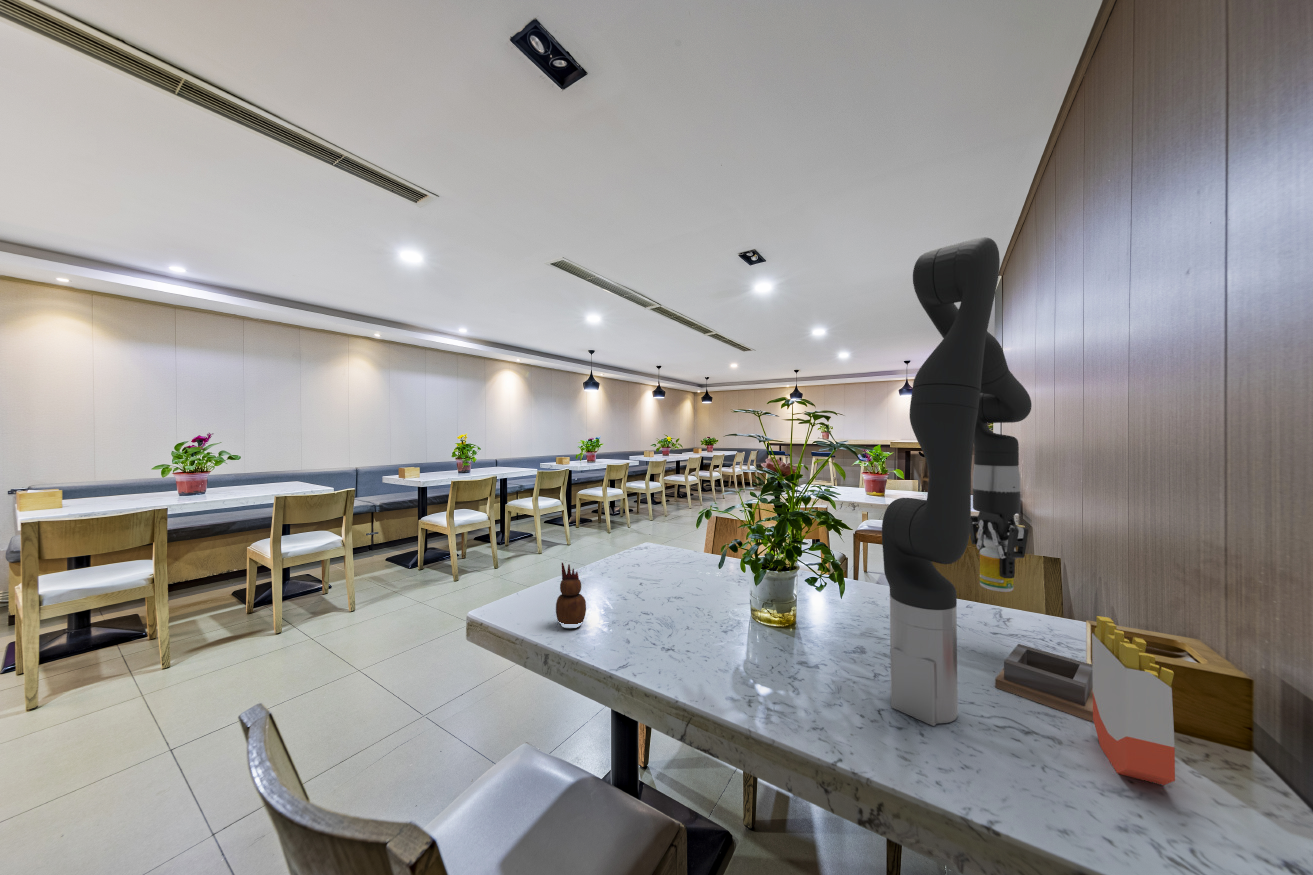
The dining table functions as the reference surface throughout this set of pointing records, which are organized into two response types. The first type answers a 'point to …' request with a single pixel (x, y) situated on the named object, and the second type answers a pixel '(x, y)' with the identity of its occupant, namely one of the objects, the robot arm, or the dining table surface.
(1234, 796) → the dining table surface
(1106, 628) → the french fries container
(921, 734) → the dining table surface
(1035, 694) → the collar stand
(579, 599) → the wooden figurine
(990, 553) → the supplement bottle
